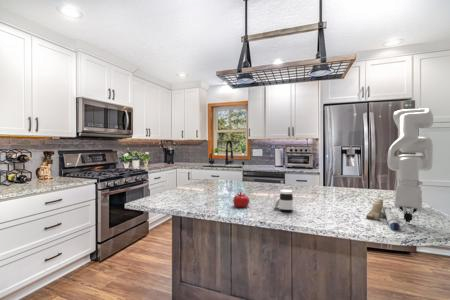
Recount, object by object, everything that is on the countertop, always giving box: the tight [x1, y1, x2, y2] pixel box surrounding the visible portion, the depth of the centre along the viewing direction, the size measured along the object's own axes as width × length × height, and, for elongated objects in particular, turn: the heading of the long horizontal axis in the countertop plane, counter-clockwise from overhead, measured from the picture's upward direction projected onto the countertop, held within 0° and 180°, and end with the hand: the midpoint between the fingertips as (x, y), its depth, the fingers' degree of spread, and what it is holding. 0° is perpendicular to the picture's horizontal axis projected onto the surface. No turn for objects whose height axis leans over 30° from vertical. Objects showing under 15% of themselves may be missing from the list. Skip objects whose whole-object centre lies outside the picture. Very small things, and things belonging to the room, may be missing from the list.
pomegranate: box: [232, 191, 250, 208], centre depth 150 cm, size 10×10×9 cm
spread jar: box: [273, 189, 294, 213], centre depth 141 cm, size 12×11×12 cm
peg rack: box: [365, 198, 384, 221], centre depth 128 cm, size 16×6×8 cm, turn 140°
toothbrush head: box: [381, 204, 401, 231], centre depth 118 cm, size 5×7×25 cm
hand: (408, 221), depth 115 cm, fingers closed
